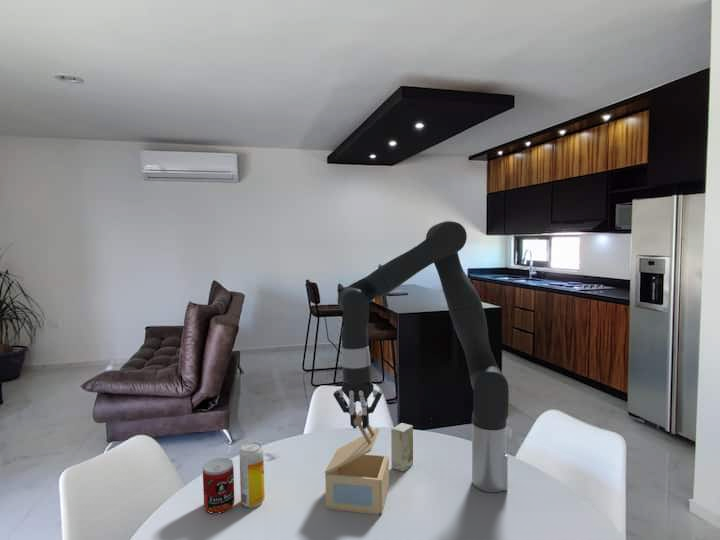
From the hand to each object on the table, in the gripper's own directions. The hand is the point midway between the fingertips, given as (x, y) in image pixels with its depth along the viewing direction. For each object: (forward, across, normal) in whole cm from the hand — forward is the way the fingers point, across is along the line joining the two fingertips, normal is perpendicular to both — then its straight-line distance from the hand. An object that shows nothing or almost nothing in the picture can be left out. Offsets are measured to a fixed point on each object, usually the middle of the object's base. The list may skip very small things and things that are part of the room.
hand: (359, 427), depth 116 cm
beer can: (+18, +29, +7) cm, 35 cm away
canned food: (+18, +37, +10) cm, 42 cm away
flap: (+6, +2, 0) cm, 7 cm away
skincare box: (+20, -8, -19) cm, 29 cm away
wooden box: (+19, +2, 0) cm, 19 cm away
